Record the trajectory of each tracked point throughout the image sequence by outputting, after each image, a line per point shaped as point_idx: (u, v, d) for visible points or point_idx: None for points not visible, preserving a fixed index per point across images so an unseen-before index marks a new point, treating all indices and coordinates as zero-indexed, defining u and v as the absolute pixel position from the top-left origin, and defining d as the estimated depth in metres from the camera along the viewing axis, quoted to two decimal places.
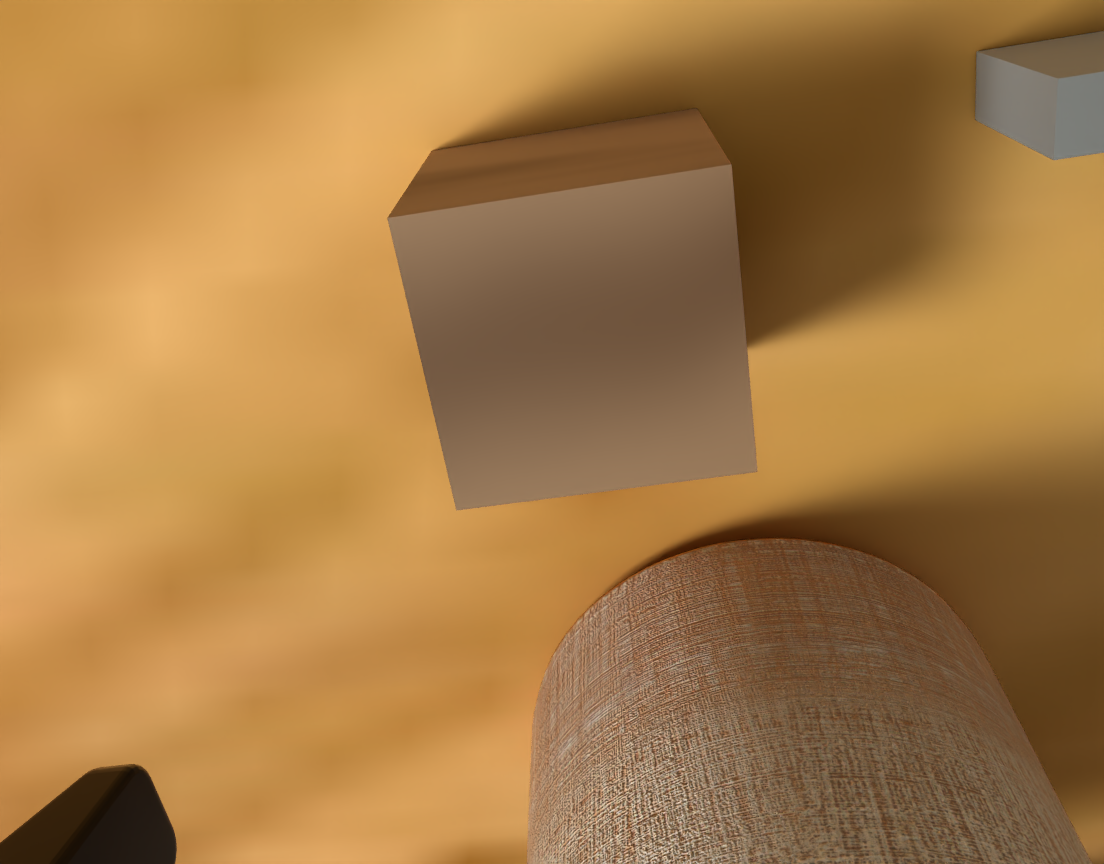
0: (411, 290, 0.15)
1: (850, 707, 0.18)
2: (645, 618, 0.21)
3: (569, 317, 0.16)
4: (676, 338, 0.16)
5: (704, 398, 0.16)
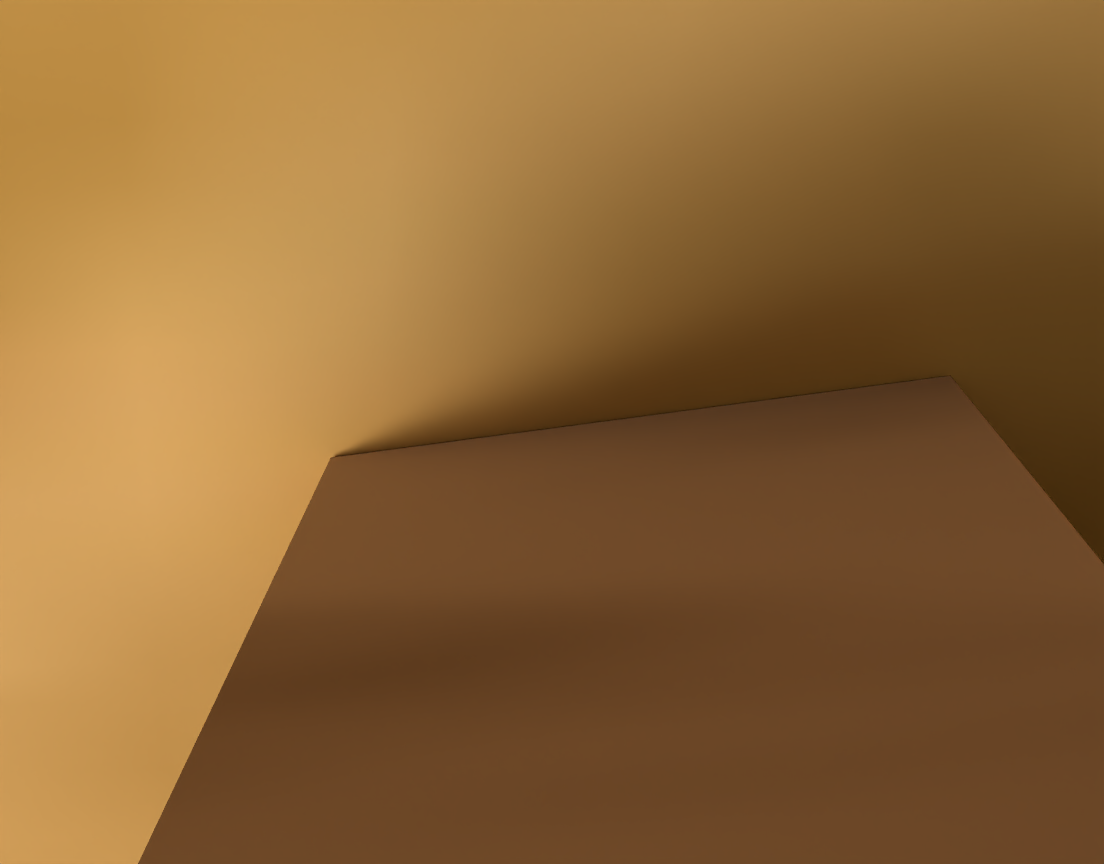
0: None
1: None
2: None
3: None
4: None
5: None
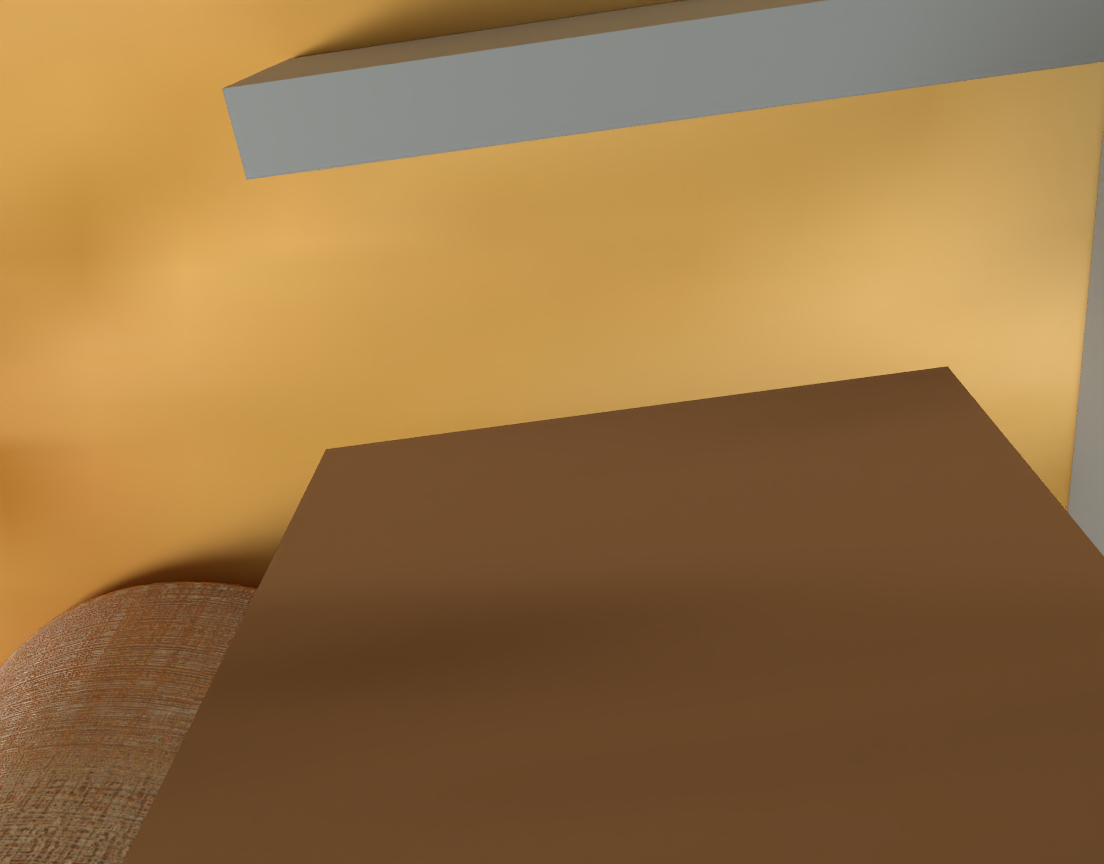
0: None
1: (104, 781, 0.16)
2: (17, 668, 0.19)
3: None
4: None
5: None
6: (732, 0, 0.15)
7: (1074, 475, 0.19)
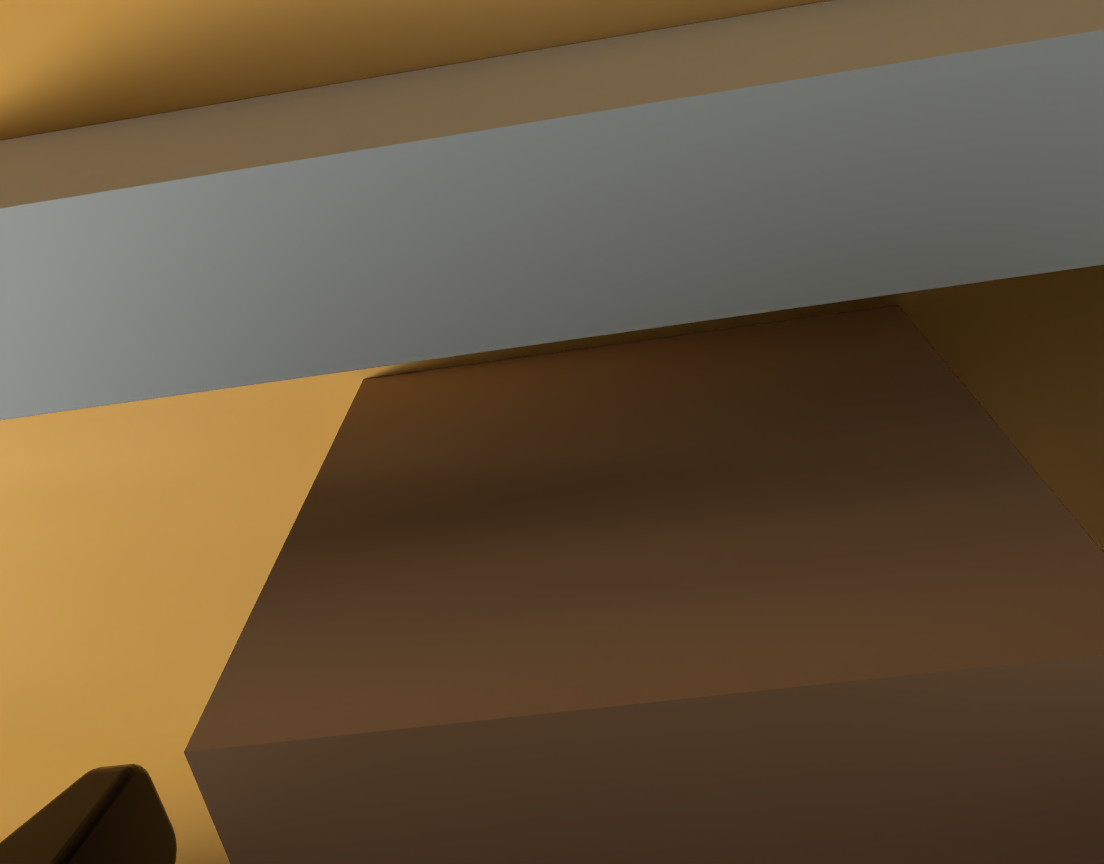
0: None
1: None
2: None
3: None
4: None
5: None
6: (722, 39, 0.07)
7: None
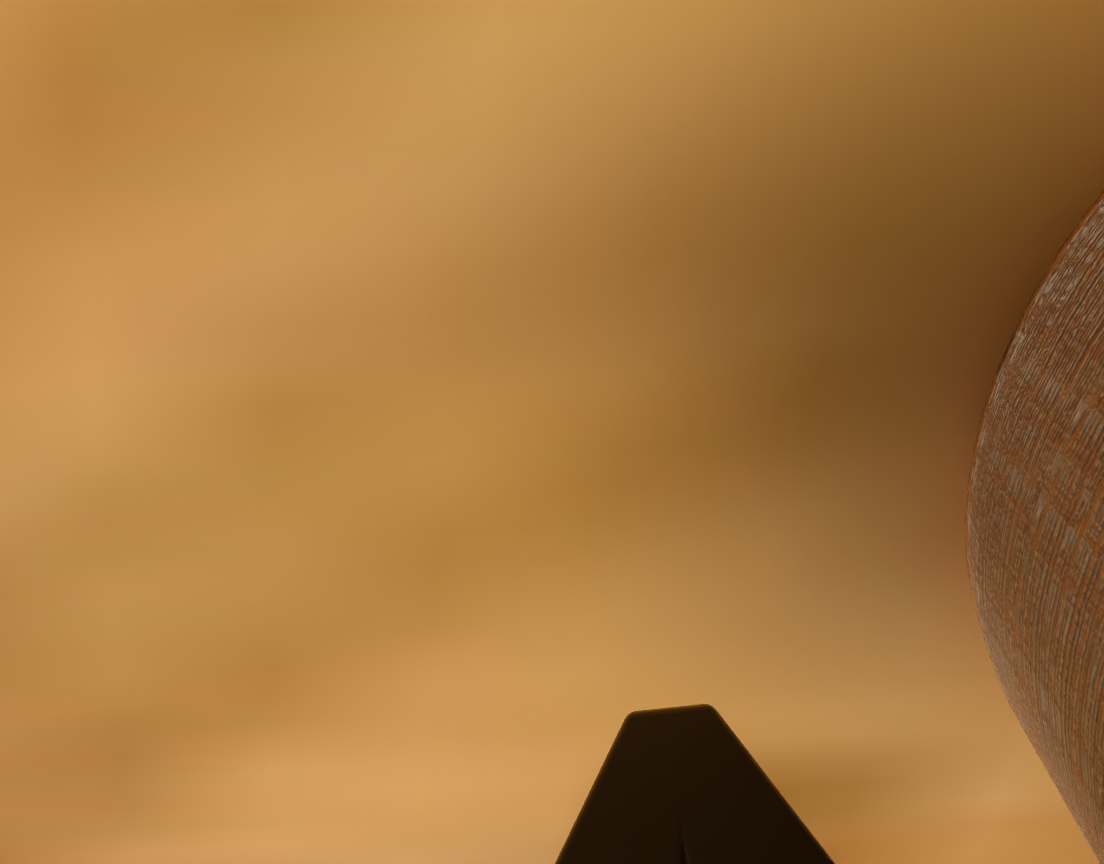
0: None
1: None
2: None
3: None
4: None
5: None
6: None
7: None
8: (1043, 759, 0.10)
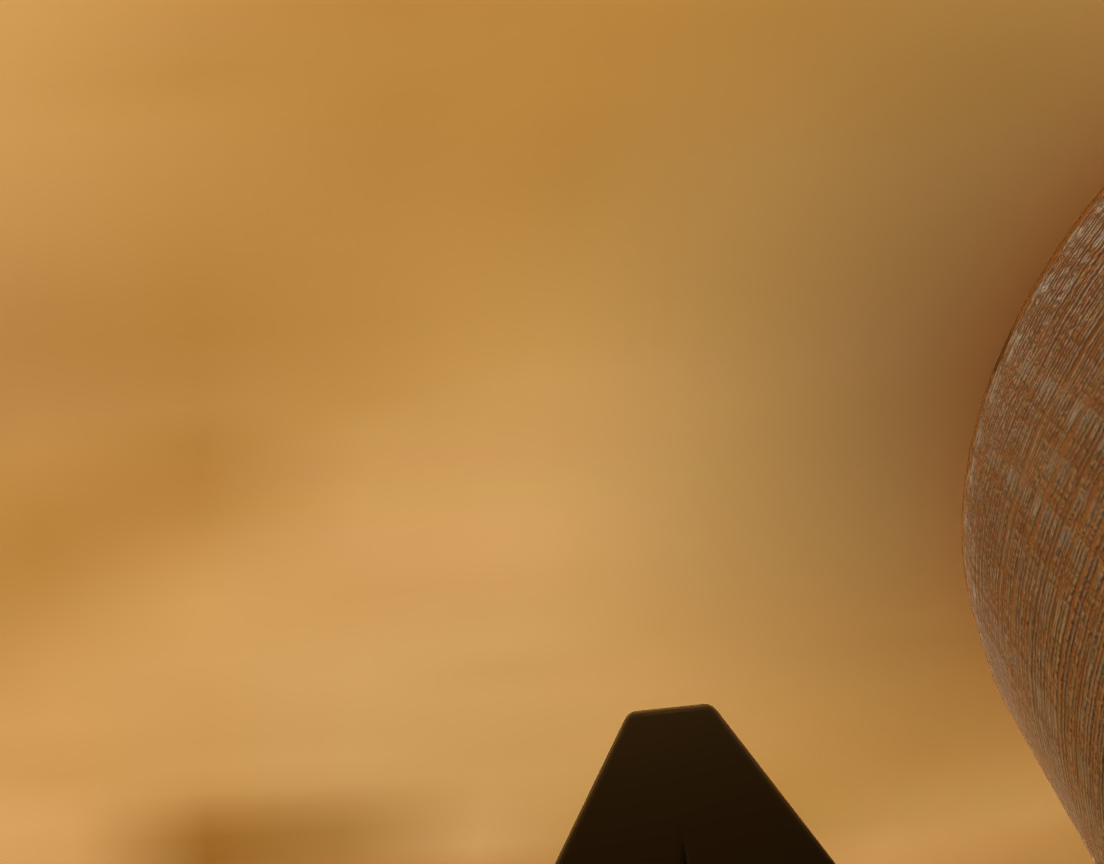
0: None
1: None
2: None
3: None
4: None
5: None
6: None
7: None
8: (1039, 758, 0.10)
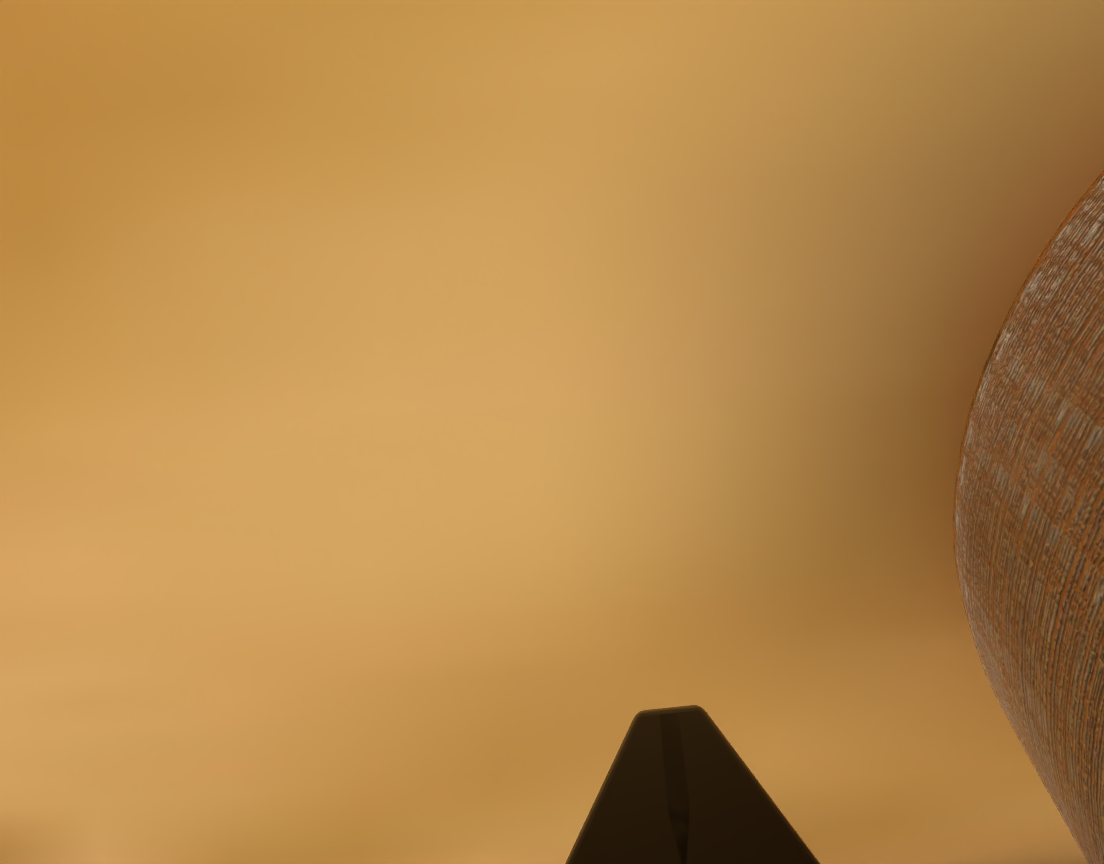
0: None
1: None
2: None
3: None
4: None
5: None
6: None
7: None
8: (1031, 757, 0.10)
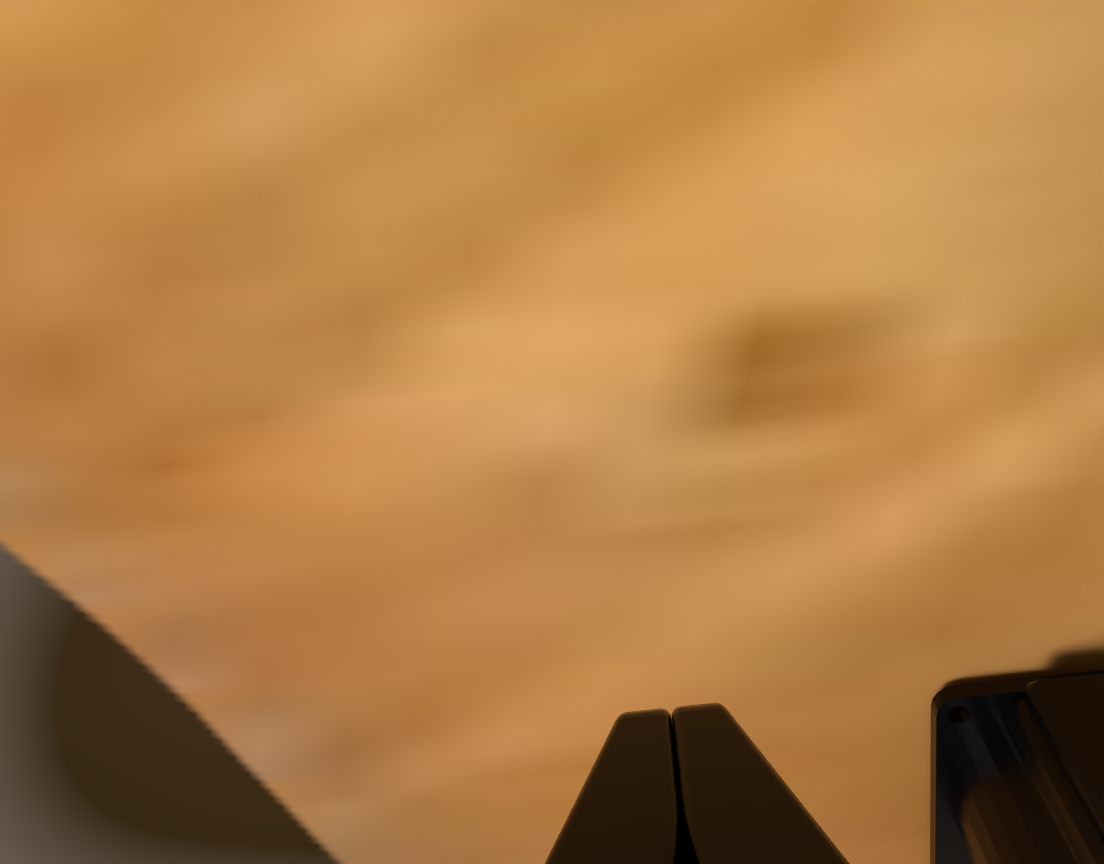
0: None
1: None
2: None
3: None
4: None
5: None
6: None
7: None
8: None
